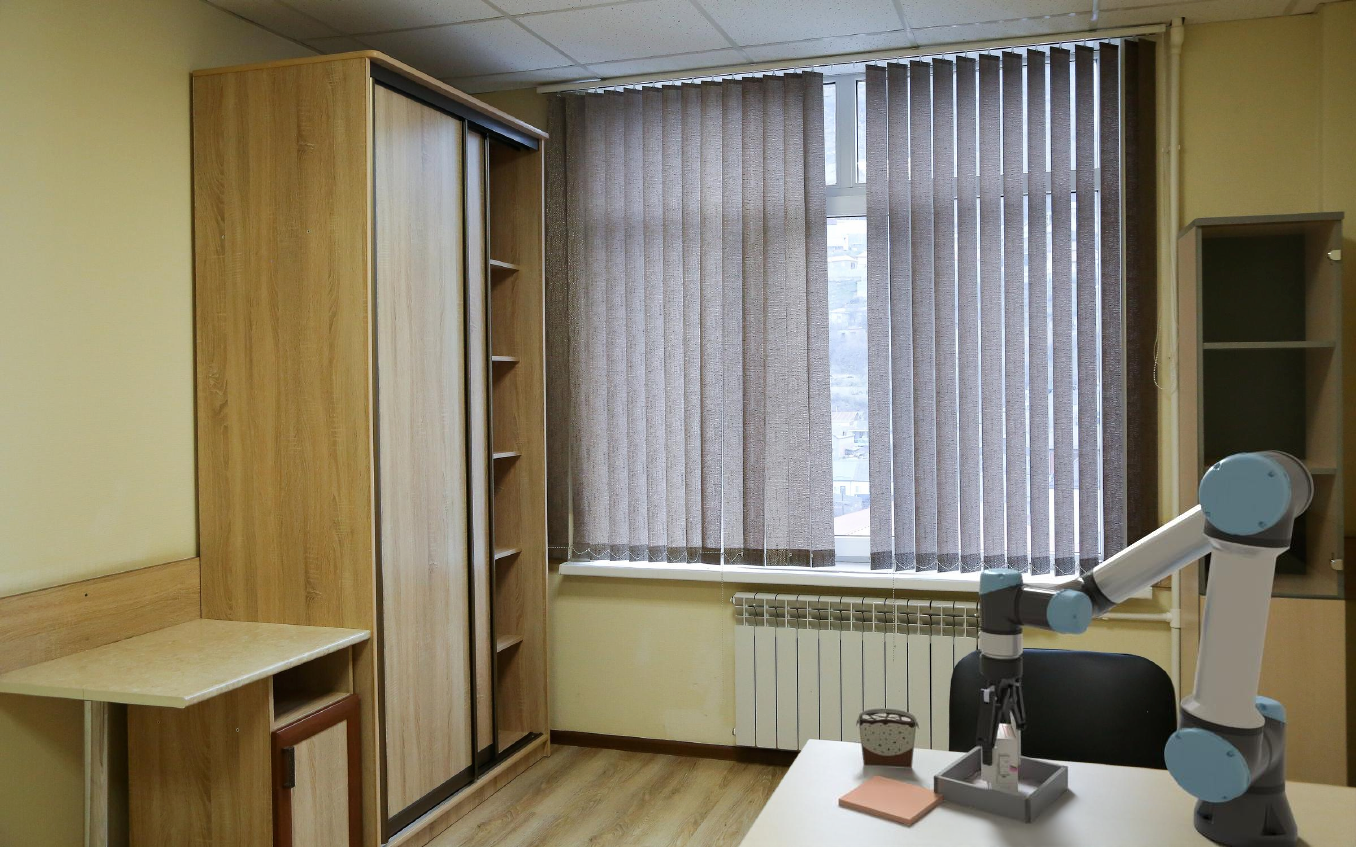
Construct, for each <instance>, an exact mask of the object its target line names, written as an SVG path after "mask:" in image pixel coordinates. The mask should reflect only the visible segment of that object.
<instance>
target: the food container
mask: <svg viewBox="0 0 1356 847" xmlns="http://www.w3.org/2000/svg"><path fill="white" fill-rule="evenodd" d="M857 726H859V727H858V728H859V729H858V730H859V737H860V744H861V745H860V746H861V753H862V754H861V755H862V763H863V767H872V768H873V767H876V768H893V769H895V768H896V769H897V768H898V769H913V760H914V758H913V757H914V750H915V740H916V730H920V727H919V721H918V718H917V717H916V715H914V714H913V713H911V712H908V711H905V710H901V709H895V708H884V707H883V708H881V707H880V708H879V707H878V708H871V709H865V710H864V711H862V712H860V713H859V714H858V717H857V719H856V724H855V727H857Z"/></svg>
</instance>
